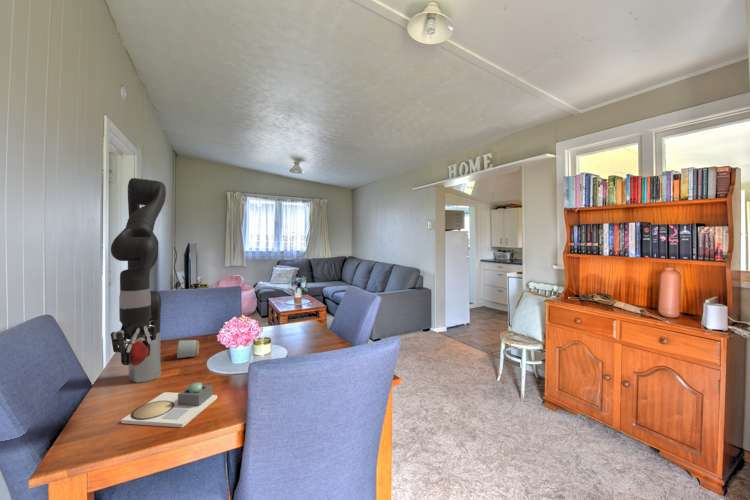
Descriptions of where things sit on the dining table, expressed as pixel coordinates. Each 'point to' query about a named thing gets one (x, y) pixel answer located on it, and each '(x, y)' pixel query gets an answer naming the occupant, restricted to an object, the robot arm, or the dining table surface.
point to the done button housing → (194, 396)
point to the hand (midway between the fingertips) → (136, 360)
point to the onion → (138, 353)
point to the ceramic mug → (187, 348)
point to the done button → (195, 387)
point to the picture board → (166, 411)
